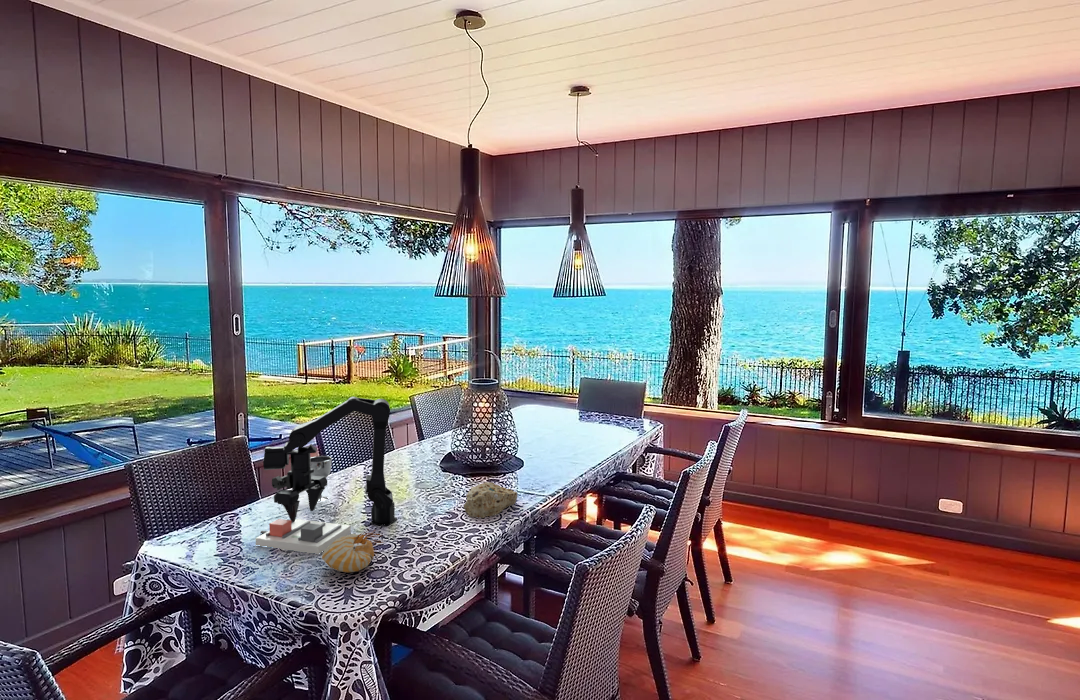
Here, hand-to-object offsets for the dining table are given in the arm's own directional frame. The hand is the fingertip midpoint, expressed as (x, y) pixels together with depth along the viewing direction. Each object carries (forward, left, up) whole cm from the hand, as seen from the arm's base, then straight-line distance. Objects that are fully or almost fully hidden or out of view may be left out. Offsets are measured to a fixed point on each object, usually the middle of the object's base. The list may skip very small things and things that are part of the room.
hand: (302, 516), depth 185 cm
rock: (-50, -33, -5) cm, 60 cm away
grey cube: (-11, +10, -2) cm, 15 cm away
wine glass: (+11, -25, -5) cm, 27 cm away
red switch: (0, +10, -2) cm, 10 cm away
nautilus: (-30, +16, -5) cm, 34 cm away
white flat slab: (-3, +6, -4) cm, 8 cm away
